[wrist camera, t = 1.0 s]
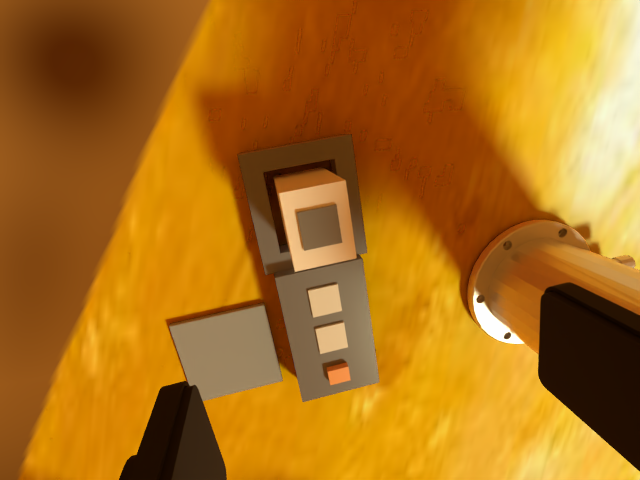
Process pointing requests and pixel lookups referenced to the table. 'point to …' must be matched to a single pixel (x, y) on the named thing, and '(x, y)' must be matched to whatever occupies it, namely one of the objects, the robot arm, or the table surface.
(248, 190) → the charging dock
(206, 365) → the rubber mat
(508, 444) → the table surface
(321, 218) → the plug
